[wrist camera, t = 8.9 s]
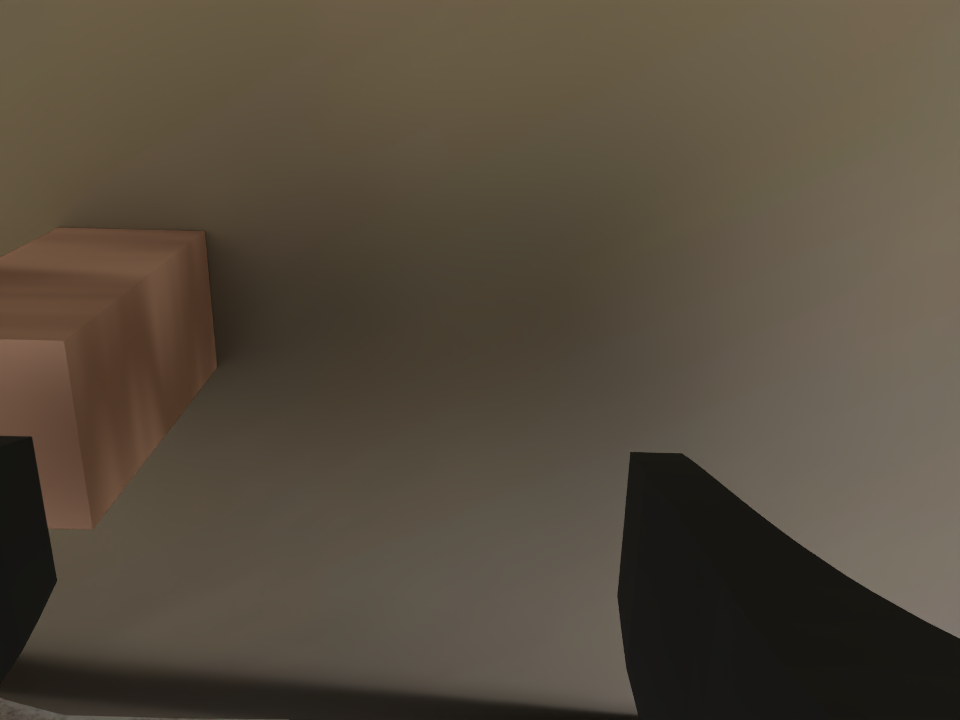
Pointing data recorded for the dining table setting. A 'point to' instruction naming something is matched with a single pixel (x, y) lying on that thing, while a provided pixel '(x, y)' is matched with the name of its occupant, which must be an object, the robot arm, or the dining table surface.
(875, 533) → the dining table surface
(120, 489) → the push blade
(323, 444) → the dining table surface
